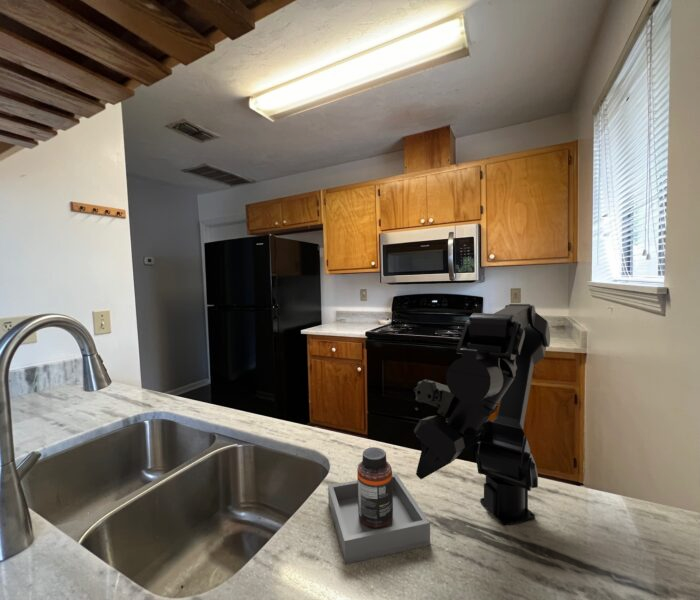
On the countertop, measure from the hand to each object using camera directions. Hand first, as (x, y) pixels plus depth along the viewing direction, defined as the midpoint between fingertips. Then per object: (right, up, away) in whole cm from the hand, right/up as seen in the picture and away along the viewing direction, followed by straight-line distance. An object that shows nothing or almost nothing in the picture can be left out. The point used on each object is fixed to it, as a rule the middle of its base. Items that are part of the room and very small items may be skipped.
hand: (431, 468), depth 53 cm
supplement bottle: (-9, -10, +2) cm, 13 cm away
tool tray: (-9, -10, +2) cm, 14 cm away
